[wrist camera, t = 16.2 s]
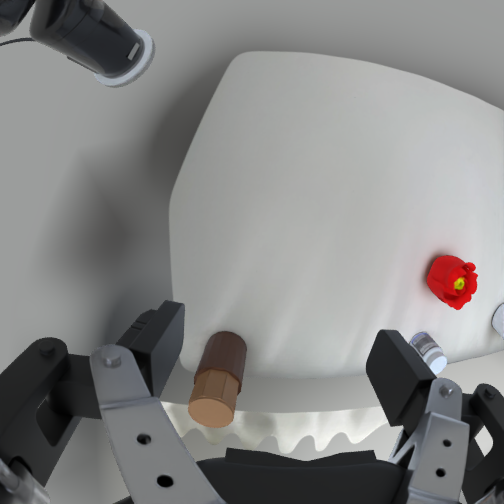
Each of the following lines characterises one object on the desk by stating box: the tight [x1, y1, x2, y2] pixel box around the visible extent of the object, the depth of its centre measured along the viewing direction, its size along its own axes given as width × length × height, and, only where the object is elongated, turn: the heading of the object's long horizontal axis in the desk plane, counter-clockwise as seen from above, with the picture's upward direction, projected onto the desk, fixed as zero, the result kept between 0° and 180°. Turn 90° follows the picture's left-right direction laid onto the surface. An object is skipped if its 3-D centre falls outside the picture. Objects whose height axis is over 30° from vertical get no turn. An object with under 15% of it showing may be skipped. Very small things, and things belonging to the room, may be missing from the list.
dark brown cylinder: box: [194, 332, 247, 395], centre depth 39 cm, size 7×7×14 cm
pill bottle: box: [410, 332, 447, 374], centre depth 39 cm, size 5×5×8 cm
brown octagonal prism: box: [188, 369, 239, 428], centre depth 33 cm, size 6×6×6 cm
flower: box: [427, 255, 478, 310], centre depth 36 cm, size 8×8×8 cm
